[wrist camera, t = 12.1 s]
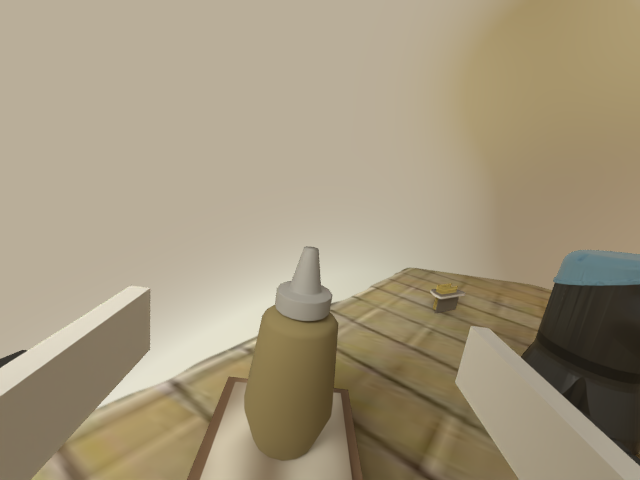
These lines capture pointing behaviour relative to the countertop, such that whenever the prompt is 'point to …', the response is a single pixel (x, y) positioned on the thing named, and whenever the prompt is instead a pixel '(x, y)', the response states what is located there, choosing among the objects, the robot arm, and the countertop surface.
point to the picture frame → (257, 468)
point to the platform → (446, 297)
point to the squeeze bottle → (293, 365)
